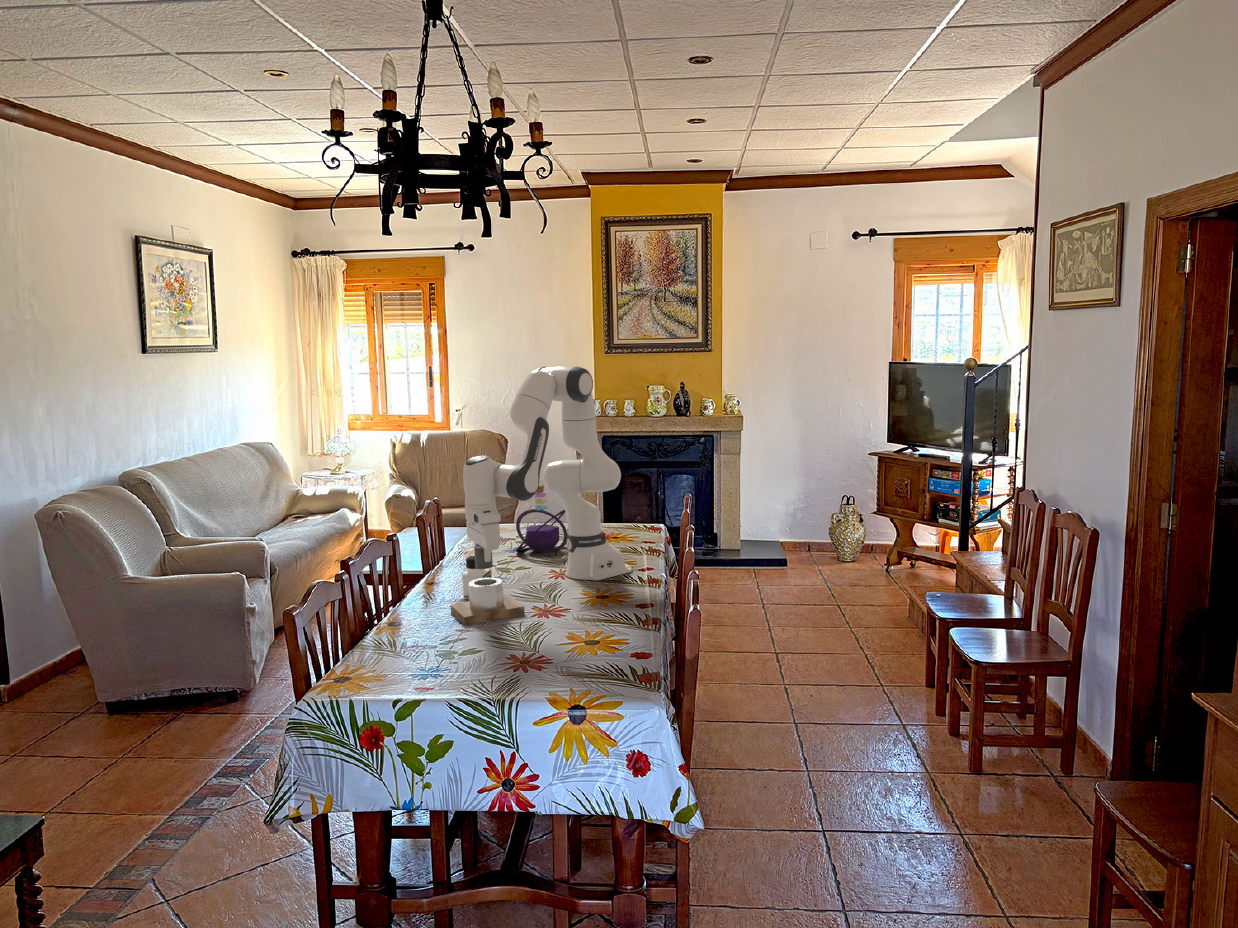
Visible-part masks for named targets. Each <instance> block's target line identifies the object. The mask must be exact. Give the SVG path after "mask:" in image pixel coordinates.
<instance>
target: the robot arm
mask: <svg viewBox="0 0 1238 928" xmlns="http://www.w3.org/2000/svg"><path fill="white" fill-rule="evenodd" d="M593 387H594V380H593V376H592V374H591V372H590V371H589V370H588V369H586V368H584V367H581V366H568V365H558V366H541V367H538V368H535V369H534V370H533V371H530V372H529V373H528V374H527V375H526V377H525V379H524V380H523V382H522V383H521V385H520V387H519V388H518V391H517V393H516V394H515V397H514V399H513V402H512V404H511V408H510V414H509V415H510V418H511V421H512V423H513V424H514V425H515V427H516V428H518V429H519V431H521V432H523V433H524V434H526V435H527V441H526V444H525V445H526V446H525V449H524V453H523V457H522V460H521V461H520V462H519V463H518V464H506V463H500V462H497V461H495V460H493V459H492V457H490V456H489V455H482V454H481V455H477V456H476V455H475V456H471V457H469V458H468V459H467V460H465V462H464V465H463V470H462V471H463V472H462V477H463V478H462V480H463V481H462V482H463V483H462V484H463V491H464V493H465V500H464V510H465V511H464V512H465V513H464V514H465V519H466V535H467V538H468V539H469V540H471V541H472V542H474V547H475V546H479V545H480V546H482V547H483V550H484V555H483V558H484V559H483V560H484V561H485V562H490V561H491V552H492V553H493V550H498V549H499V548H500V545H501V541H500V540H501V539H500V538H501V536H500V535H501V534H500V533H501V529H500V522H501V521H502V520H501V517H502V516H501V514H500V513H499V511H498V509H497V505H496V504H497V503H496V502H497V501H496V497H500V498H501V497H502V498H507V499H514V500H519V501H522V502H525V501H528V500H530V499H531V498H533V497H534V494H535V493H536V492H537V490H538V487H539V484H540V478H541V477H540V475H541V470H542V465H543V461H544V458H545V452H546V449H547V445H548V444H547V443H548V440H549V436H550V435H549V433H550V425H549V423H548V421H547V419H548V415H549V412H550V409H551V406H552V405H553V404H552V403H553V401H555V402H561V426H562V429H561V430H562V439H563V442H564V444H565V445H566V447H569V448H570V449H572V450H575V451H577V452H578V453H579V454H580V456H581V457H582V458H581V459H561V460H556V461H553V462H549V463H548V464H547V465H546V466H545V467H544V470H543V473H542V481H543V485H544V487H545V488H546V489H547V490H548V491H549V492H550V493H552V494H554V495H555V496H556V497H557V498H558V499H559V500H560V502H561V504H562V506H563V508H564V510H565V511H566V512H565V515H566V522H567V523H566V524H567V543H566V546H567V551H568V555H567V565H566V571H565V573H564V574H565V577H567V578H570V579H573V580H590V581H601V580H604V579H608V578H612V577H618V576H621V575H624V574H630V573H632V571H633V568H632V567H631V565H629V564H627V563H626V561H625V558H624V557H625V556H624V554H623V553H622V552H621V550H619V549H617V548H616V547H615V546H613V545H612V544H610V543H609V542H607V540H608V541H611V539H612V538H613V536H612V534H611V533H609V532H604V531H602V524H601V511H600V509H599V507H598V506H597V505H595V504H593V503H592V502H589V501H588V500H585V499H584V497H583V496H582V494H583V493H603V492H608V491H611V490H615V489H616V488H617V487H618V486H619V484H620V481H621V478H622V472H621V469H620V467H619V465H618V463H617V462H616V461H615V460H614V459H611V458H610V457H609V456H608V455H607V454H606V453H605V451H604V450H603V449H602V447H601V445H600V441H599V439H598V432H597V422H596V421H597V420H596V419H597V418H596V410H595V409H596V408H595V402H594V397H593V394H592V392H593Z"/></svg>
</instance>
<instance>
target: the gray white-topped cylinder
mask: <svg viewBox="0 0 1238 928" xmlns="http://www.w3.org/2000/svg"><path fill="white" fill-rule="evenodd" d="M473 550H474V555H475V566H476V568H477V569H491V568H493V567H494V564H493V561H494V560H493V551H492V552H491V561H490V562H485V561H484V560H483V559H484V558H483V555H484V550H483V547H482V546H480V545H479V546H475V545H474V549H473Z"/></svg>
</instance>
